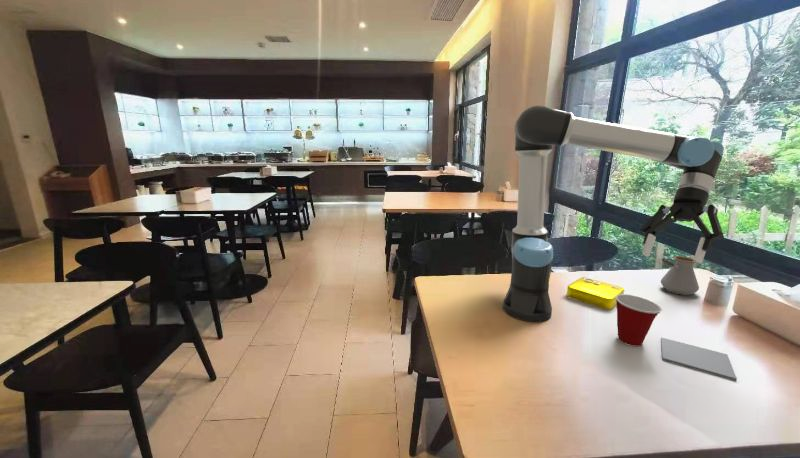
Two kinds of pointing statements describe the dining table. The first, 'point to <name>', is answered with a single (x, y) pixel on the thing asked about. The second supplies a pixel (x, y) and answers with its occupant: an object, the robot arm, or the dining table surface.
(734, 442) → the dining table surface
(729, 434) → the dining table surface
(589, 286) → the element tile
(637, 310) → the plastic cup
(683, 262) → the coffee pot
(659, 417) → the dining table surface
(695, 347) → the card
